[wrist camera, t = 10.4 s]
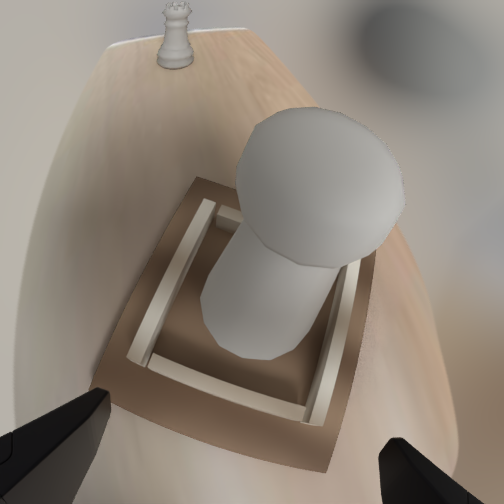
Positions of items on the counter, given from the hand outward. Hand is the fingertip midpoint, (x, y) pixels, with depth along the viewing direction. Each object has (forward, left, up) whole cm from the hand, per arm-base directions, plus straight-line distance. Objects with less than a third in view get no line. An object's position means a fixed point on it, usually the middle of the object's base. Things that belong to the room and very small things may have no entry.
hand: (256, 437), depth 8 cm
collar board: (+6, +1, -9) cm, 11 cm away
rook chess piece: (+31, +19, -9) cm, 38 cm away
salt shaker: (+6, +1, -8) cm, 10 cm away
